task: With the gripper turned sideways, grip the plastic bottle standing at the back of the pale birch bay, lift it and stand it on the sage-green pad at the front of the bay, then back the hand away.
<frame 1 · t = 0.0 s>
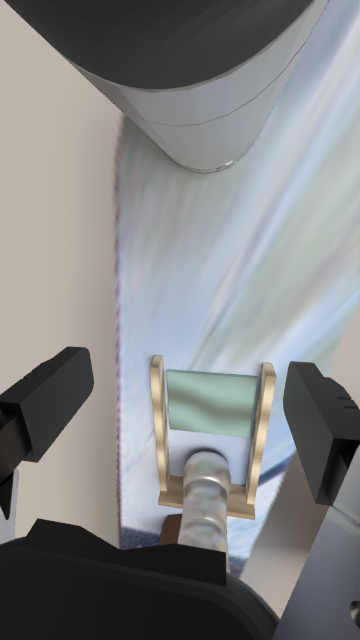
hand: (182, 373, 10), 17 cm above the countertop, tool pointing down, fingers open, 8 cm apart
bay: (208, 431, 35), on the countertop
beer bottle: (183, 524, 46), on the countertop
plastic bottle: (207, 458, 37), resting in bay
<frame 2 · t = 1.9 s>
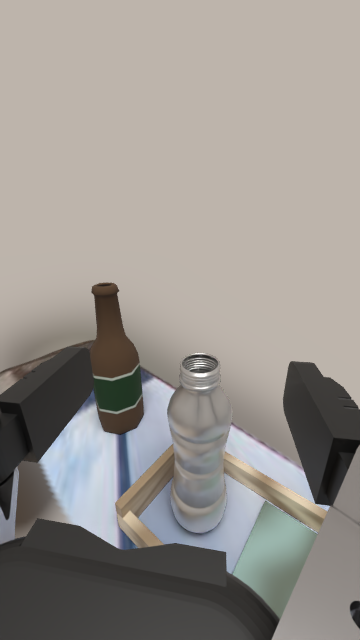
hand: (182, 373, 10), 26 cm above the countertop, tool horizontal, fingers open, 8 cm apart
bay: (245, 546, 26), on the countertop
beer bottle: (122, 419, 43), on the countertop
plastic bottle: (198, 510, 29), resting in bay
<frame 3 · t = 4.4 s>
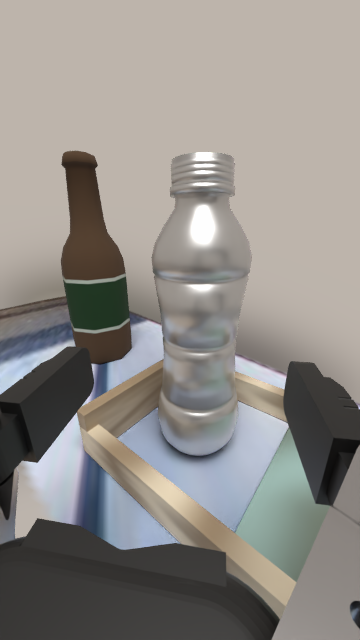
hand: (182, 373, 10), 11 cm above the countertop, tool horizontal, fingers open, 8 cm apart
bay: (266, 474, 18), on the countertop
beer bottle: (104, 352, 35), on the countertop
plastic bottle: (197, 434, 21), resting in bay
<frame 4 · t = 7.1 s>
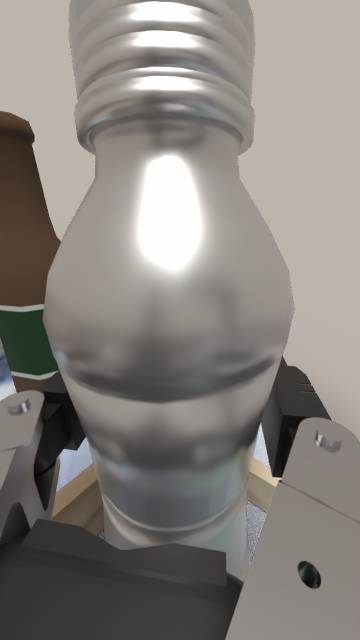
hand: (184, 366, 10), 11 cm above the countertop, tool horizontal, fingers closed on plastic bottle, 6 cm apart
beer bottle: (63, 396, 26), on the countertop
plastic bottle: (178, 589, 12), resting in bay, touching gripper
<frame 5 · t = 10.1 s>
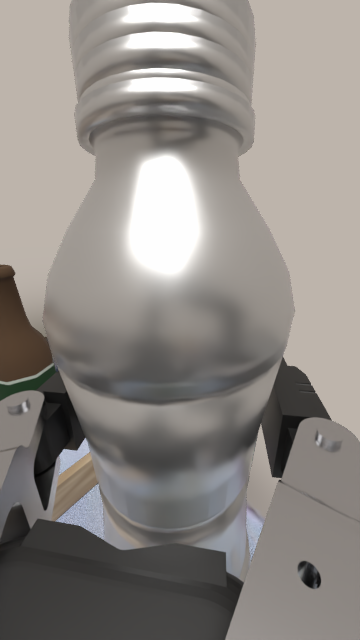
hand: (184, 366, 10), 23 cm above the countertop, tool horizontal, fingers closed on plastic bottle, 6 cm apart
bay: (131, 611, 19), on the countertop
beer bottle: (40, 429, 37), on the countertop
plastic bottle: (178, 590, 12), point 11 cm above the countertop, touching gripper
when the fingers open (12 cm above the countertop, at t = 13.4 s): plastic bottle stays where it is, resting on bay.
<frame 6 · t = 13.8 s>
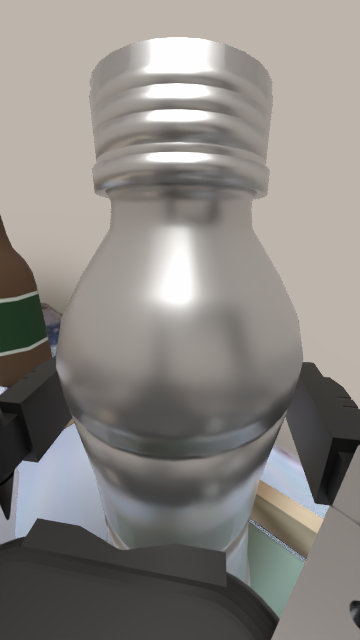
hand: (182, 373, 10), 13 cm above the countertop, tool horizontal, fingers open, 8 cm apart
bay: (117, 533, 16), on the countertop
beer bottle: (24, 372, 33), on the countertop
plastic bottle: (177, 607, 12), resting on bay
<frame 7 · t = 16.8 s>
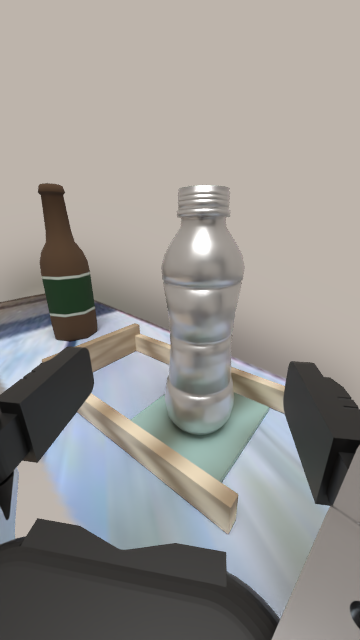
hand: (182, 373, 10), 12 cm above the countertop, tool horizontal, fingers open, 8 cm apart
bay: (162, 399, 28), on the countertop
beer bottle: (76, 333, 45), on the countertop
plastic bottle: (198, 419, 24), resting on bay
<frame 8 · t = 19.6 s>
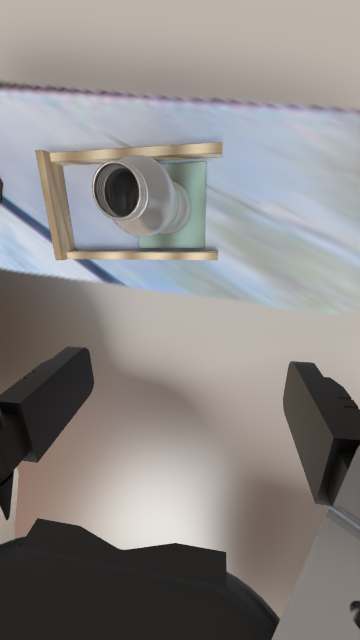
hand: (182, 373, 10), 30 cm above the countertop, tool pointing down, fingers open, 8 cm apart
bay: (137, 209, 36), on the countertop
plastic bottle: (171, 209, 36), resting on bay
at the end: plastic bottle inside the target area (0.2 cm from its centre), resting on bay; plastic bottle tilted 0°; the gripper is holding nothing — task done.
